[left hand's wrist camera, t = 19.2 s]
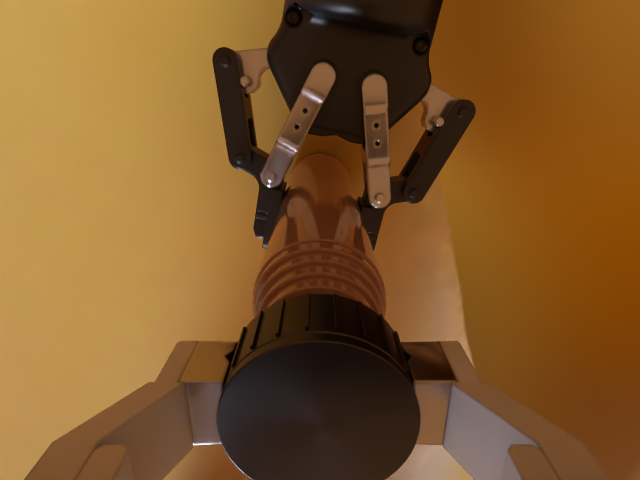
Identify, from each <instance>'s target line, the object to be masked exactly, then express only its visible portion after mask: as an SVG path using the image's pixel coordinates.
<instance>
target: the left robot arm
mask: <svg viewBox="0 0 640 480" xmlns="http://www.w3.org/2000/svg"><path fill="white" fill-rule="evenodd" d="M237 343H238V342H228V341H180V342H178V343H177V344H176V345H175V347H174V349H173V351H172V353H171V354H170V356H169V358H168V360H167V361H166V363H165V365H164V367H163V369H162V370H161V372H160V374H159V376H158V377H157V379H156V381H155V382H149V383H147V384H145V385H144V386H142V387H141V388H139V389H137V390H136V391H134V392H133V393H131V394H129V395H128V396H126V397H125V398H123V399H121V400H120V401H118V402H116V403H115V404H113V405H112V406H110V407H108V408H107V409H105V410H104V411H102V412H100V413H99V414H97V415H96V416H94V417H92V418H91V419H89V420H88V421H86V422H84V423H83V424H81V425H80V426H78V427H76V428H75V429H73V430H72V431H70V432H68V433H67V434H65V435H63V436H62V437H60V438H59V439H57V440H55V441H54V442H52V443H51V445H50V446H49V447H48V449H47V450H46V451H45V453H44V454H43V455H42V457H41V458H40V459H39V461H38V462H37V463H36V465H35V466H34V467H33V468H32V470H31V471H30V472H29V474H28V475H27V476H26V478H25V479H24V480H162V479H163V478H164V477H165V476H166V475H167V474H168V473H169V472H170V471H171V470H172V469H173V468H174V467H175V466H176V465H177V464H178V463H179V462H180V461H181V460H182V459H183V458H184V457H185V456H186V454H187V453H188V452H189V451H190V450H191V449H192V448H193V447H194V446H193V445H210V444H221V442H220V439H219V435H218V431H217V423H216V415H217V407H218V403H219V399H220V396H221V393H222V390H223V387H224V384H225V380H226V377H227V374H228V371H229V368H230V362H229V359H230V358H231V357H233V355H234V352H235V349H236V346H237ZM401 345H402V348H403V352H404V355H405V358H406V361H407V364H408V367H409V374H410V378H411V381H412V384H413V387H414V390H415V393H416V396H417V399H418V402H419V407H420V415H421V424H420V431H419V435H418V438H417V442H416V444H426V445H443V447H444V448H445V449H446V450H447V451H448V452H449V454H450V455H451V456H452V457H453V458H454V459H455V460H456V461H457V462H458V463H459V464H460V465H461V466H462V467H463V468H464V469H465V470H466V471H467V473H468V474H469V475H470V476H471V477H472V478H473V479H474V480H611V479H610V477H609V476H608V475H607V473H606V472H605V471H604V469H603V468H602V467H601V465H600V464H599V463H598V461H597V460H596V458H595V457H594V456H593V454H592V453H591V452H590V450H589V449H588V448H587V446H586V445H585V444H584V443H583V442H582V441H580V440H578V439H577V438H575V437H573V436H572V435H570V434H569V433H567V432H566V431H564V430H562V429H561V428H559V427H558V426H556V425H555V424H553V423H551V422H550V421H548V420H546V419H545V418H543V417H542V416H540V415H539V414H537V413H535V412H534V411H532V410H531V409H529V408H528V407H526V406H524V405H523V404H521V403H520V402H518V401H516V400H515V399H513V398H512V397H510V396H508V395H507V394H505V393H504V392H502V391H500V390H499V389H497V388H496V387H494V386H493V385H491V384H489V383H488V382H481V380H480V378H479V376H478V375H477V373H476V371H475V369H474V368H473V366H472V364H471V362H470V360H469V359H468V357H467V355H466V353H465V351H464V350H463V348H462V346H461V344H460V343H459V342H458V341H437V342H401Z"/></svg>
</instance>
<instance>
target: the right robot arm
mask: <svg viewBox="0 0 640 480" xmlns="http://www.w3.org/2000/svg"><path fill="white" fill-rule="evenodd" d="M442 2H443V0H285V5H284V12H283V18H282V22H281V24H280V27H279V29H278V31H277V33H276V34H275V36H274V37H273V38H272V40H271V41H270V43H269V45H268V48H263V49H252V50H242V51H234V50H232V49H229V48H226V47H222V48H219V49H217V50H216V51H215V53H214V55H213V66H214V72H215V79H216V85H217V91H218V97H219V103H220V109H221V115H222V121H223V127H224V133H225V139H226V145H227V151H228V157H229V162H230V164H231V165H232V166H233V167H234V168H236V169H240V170H244V171H246V172H248V173H249V174H251V175H253V176H254V177H255V178H256V179H257V181H258V183H259V194H258V201H257V208H256V215H255V222H254V232H255V236H256V237H260V238H264V240H263V248H267V245H268V242H269V239H270V236H271V233H272V230H273V227H274V224H275V221H276V218H277V215H278V212H279V209H280V206H281V203H282V200H283V197H284V194H285V191H286V185H287V182H284V177H285V174H286V172H287V170H288V168H289V166H290V165H291V163H292V161H293V159H294V157H295V155H296V153H297V152H298V150H299V148H300V146H301V144H302V142H303V140H304V138H305V136H306V135H307V133H308V134H313V135H318V136H331V135H337V136H339V137H341V138H343V139H345V140H347V141H349V142H353V143H357V144H360V146H361V156H362V163H363V176H364V192H363V196H362V197H358V200H357V202H358V205H359V208H360V211H361V214H362V217H363V220H364V224H365V227H366V230H367V233H368V236H369V239H370V242H371V245H372V248H373V251H374V248H375V245H376V241H377V237H378V233H379V229H380V226H381V222H382V218H383V214H384V211H385V210H386V208H387V207H388V206H390V205H391V204H394V203H400V202H406V201H407V202H409V203H412V204H414V203H418V202H420V201H421V200H422V199H423V198H424V196H425V195H426V193H427V191H428V190H429V188H430V187H431V185H432V183H433V182H434V180H435V178H436V177H437V175H438V174H439V172H440V170H441V169H442V167H443V166H444V164H445V162H446V161H447V159H448V158H449V156H450V154H451V153H452V151H453V150H454V148H455V146H456V145H457V143H458V142H459V140H460V138H461V137H462V135H463V134H464V132H465V130H466V129H467V127H468V126H469V124H470V122H471V121H472V119H473V118H474V115H475V111H476V110H475V106H474V104H473V103H472V102H471V101H469V100H465V99H460V98H455V97H454V96H452V95H450V94H448V93H447V92H445V91H443V90H441V89H440V88H438V87H436V86H435V85H433V84H431V73H430V68H429V51H430V47H431V43H432V39H433V36H434V32H435V28H436V24H437V21H438V17H439V13H440V9H441V5H442ZM267 69H271V71H272V74H273V76H274V78H275V80H276V82H277V84H278V86H279V89H280V91H281V93H282V95H283V97H284V99H285V102H286V104H287V106H288V108H289V110H290V112H291V113H290V115H289V117H288V119H287V121H286V123H285V125H284V127H283V129H282V131H281V133H280V135H279V137H278V139H277V141H276V143H275V145H274V147H273V149H272V151H271V153H270V155H269V154H268V153H266V152H264V151H263V150H261V149H259V148H258V147H257V141H256V134H255V127H254V119H253V112H252V105H251V98H250V94H251V93H255V92H256V91H258V89H259V88H260V85H261V76H262V74H263V73H264V72H265V71H266V70H267ZM420 101H421V103H422V105H423V109H424V110H423V114H422V117H421V125H422V126H423V128H424V129H426V130H425V132H424V134H423V135H422V137H421V139H420V140H419V142H418V144H417V145H416V147H415V149H414V151H413V152H412V154H411V156H410V157H409V159H408V161H407V162H406V164H405V166H404V168H403V169H402V171H401V173H400V174H399V176H394V177H390V173H389V165H390V146H389V129H390V128H391V127H392V126H394V125H395V124H396V123H397V122H398V121H399V120H400V119H401V118H402V117H403V116H405V115H406V114H407V113H408V112H409V111H410V110H411V109H412V108H413V107H414V106H416V105H417V104H418V103H419V102H420Z"/></svg>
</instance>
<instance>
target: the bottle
mask: <svg viewBox="0 0 640 480" xmlns="http://www.w3.org/2000/svg"><path fill="white" fill-rule="evenodd" d="M307 293H310V294H331V295H333V294H337V295H338V296H342V297H346V298H350V299H352V300H355V301H358V302H359V301H361V302H362V304H364V305H365V306H367V307H369V308H371V309H372V310H374V311H375V312H376V313H378V314H379V315H380V314H382V315H383V318H385V312H386V299H385V287H384V283H383V280H382V277H381V273H380V270H379V267H378V264H377V261H376V258H375V255H374V252H373V248H372V245H371V242H370V239H369V236H368V233H367V230H366V227H365V224H364V220H363V217H362V214H361V211H360V208H359V205H358V202H357V199H356V195H355V192H354V189H353V186H352V183H351V180H350V177H349V174H348V171H347V169H346V168H345V166H344V165H343V164H342V162H340V161H339V160H338V159H336V158H335V157H333V156H330V155H327V154H313V155H310V156H307V157H305V158H303V159H302V160H301V161H300V162H299V163H298V164H297V165H296V166H295V168H294V169H293V171H292V174H291V177H290V180H289V182H288V185H287V188H286V191H285V194H284V197H283V200H282V203H281V206H280V209H279V212H278V215H277V218H276V221H275V224H274V227H273V230H272V233H271V236H270V239H269V242H268V245H267V248H266V251H265V254H264V257H263V260H262V263H261V266H260V269H259V272H258V275H257V278H256V281H255V285H254V291H253V315H254V318H255V317H256V316H257V315H258V314H259V311H261V310H262V311H264V310H265V309H267V308H268V307H270V306H272V305H274V304H276V303H278V302H280V301H281V299H288V298H291V297H295V296H299V295H306V294H307Z"/></svg>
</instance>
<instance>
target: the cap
mask: <svg viewBox="0 0 640 480" xmlns="http://www.w3.org/2000/svg"><path fill="white" fill-rule="evenodd" d="M229 362H230V368H229V371H228V374H227V377H226V380H225V384H224V387H223V390H222V393H221V396H220V399H219V403H218V407H217V415H216V423H217V431H218V435H219V439H220V442H221V444H222V446H223V448H224V451H225V452H226V454H227V455H228V457H229V458H230V460H231V461H232V462H233V463H234V464H235V466H236V467H237V468H238V469H239V470H241V471H242V472H243V473H244V474H245V475H246V476H248V477H249V478H251V479H252V480H385V479H386V478H388V477H390V476H391V475H392V474H393V473H394V472H395V471H397V470H398V469H399V468H400V467H401V466H402V464H403V463H404V462H405V461H406V460H407V458H408V457H409V455H410V454H411V452H412V450H413V448H414V446H415V444H416V442H417V438H418V435H419V431H420V424H421V415H420V407H419V402H418V399H417V396H416V393H415V390H414V387H413V384H412V381H411V378H410V374H409V367H408V364H407V361H406V358H405V355H404V352H403V348H402V345H401V342H400V339H399V336H398V333H397V331H395V332H394V331H393V329H392V328H391V327H390V325H389V324H388V323H387V322H386V321H385V320H384V318H383V315H382V314H380V315H379V314H378V313H376V312H375V311H374V310H372V309H371V308H369V307H367V306H365V305H364V304H362V302H361V301H359V302H358V301H355V300H352V299H350V298H346V297H342V296H338V295H337V294H333V295H331V294H310V293H307V294H306V295H299V296H295V297H291V298H288V299H281V301H280V302H278V303H276V304H274V305H272V306H270V307H268V308H267V309H265V310H264V311H262V310H261V311H259V314H258V315H257V316H256V317H255V318H254V319H253V320H252V321H251V322H250V323H249V325H248V326H247V327H244V328H243V329H242V332H241V335H240V339H239V341H238V343H237V346H236V349H235V352H234V355H233V357H231V358H230V359H229Z"/></svg>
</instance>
